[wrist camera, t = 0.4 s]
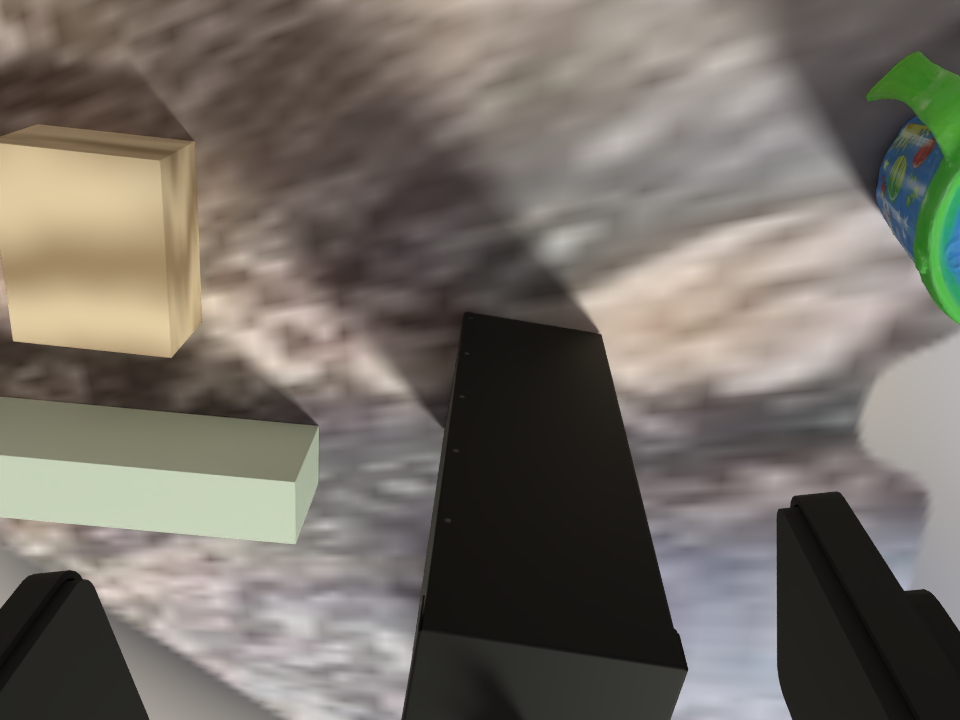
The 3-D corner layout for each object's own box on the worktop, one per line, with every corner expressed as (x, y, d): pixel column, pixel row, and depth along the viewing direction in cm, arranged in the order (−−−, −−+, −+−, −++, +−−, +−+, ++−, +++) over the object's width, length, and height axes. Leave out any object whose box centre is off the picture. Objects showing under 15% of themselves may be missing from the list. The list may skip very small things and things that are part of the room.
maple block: (39, 123, 43) (-16, 141, 39) (196, 140, 43) (159, 160, 39) (60, 305, 47) (13, 341, 43) (203, 320, 47) (171, 357, 43)
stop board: (-39, 392, 50) (-106, 445, 44) (318, 425, 50) (295, 482, 44) (-27, 451, 51) (-91, 508, 46) (318, 483, 51) (295, 544, 46)
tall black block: (442, 431, 50) (370, 917, 24) (463, 308, 46) (404, 722, 21) (574, 452, 50) (639, 954, 25) (603, 331, 47) (714, 767, 21)
